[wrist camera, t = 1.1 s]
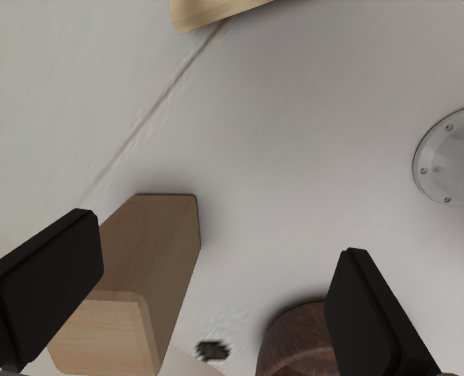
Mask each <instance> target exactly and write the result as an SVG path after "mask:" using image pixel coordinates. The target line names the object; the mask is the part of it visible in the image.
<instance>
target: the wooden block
mask: <svg viewBox="0 0 464 376" xmlns="http://www.w3.org/2000/svg"><path fill="white" fill-rule="evenodd" d="M99 233H100V240H101V248H102V256H103V263H104V274H103V276H102V278H101V280H100V281H99V282H98V283H97V284H96V286H95V287H94V288H93V289H92V291H91V292H90V293H89V294H88V295H87V297H86V298H85V299H84V300H83V302H82V303H81V304H80V305H79V307H78V308H77V309H76V310H75V311H74V313H73V314H72V315H71V316H70V318H69V319H68V320H67V321H66V322H65V324H64V325H63V326H62V327H61V329H60V330H59V331H58V332H57V333H56V335H55V336H54V337H53V338H52V340H51V341H50V342H49V343H48V344H47V346H46V347H47V349H48V351H49V353H50V355H51V358H52V360H53V362H54V364H55V366H56V368H57V369H58V370H59V371H61V372H62V373H65V374H75V375H89V376H157V375H158V373H159V372H160V369H161V366H162V363H163V360H164V357H165V354H166V351H167V348H168V345H169V342H170V339H171V336H172V333H173V330H174V327H175V324H176V321H177V318H178V315H179V312H180V309H181V306H182V303H183V300H184V297H185V294H186V291H187V288H188V285H189V282H190V279H191V276H192V273H193V270H194V267H195V264H196V261H197V258H198V255H199V252H200V249H201V246H200V236H199V225H198V215H197V205H196V200H195V198H194V197H193V196H188V195H135V196H132V197H130V198H129V199H128V200H127V201H126V202H125V203H124V204H123V205H122V206H121V207H120V208H118V209H117V210H116V211H115V212H114V213H113V214H112V215H111V216H110V217H109V218H108V219H107V220H106V221H104V222H103V223H102V224H101V225H100V226H99Z"/></svg>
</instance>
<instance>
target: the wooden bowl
mask: <svg viewBox="0 0 464 376" xmlns="http://www.w3.org/2000/svg"><path fill="white" fill-rule="evenodd" d="M324 303H325V301H323V302H312V303H307V304H303V305H300V306H297V307H295V308H293V309H291V310H289V311H287V312H285V313H284V314H282V315H281V316H280V317H279V318H278V319H277V320H276V321H275V322H274V323H273V324H272V326H271V327H270V328H269V330H268V332H267V333H266V335H265V337H264V340H263V342H262V345H261V348H260V351H259V356H258V360H257V367H256V374H255V376H340V373H339V370H338V366H337V362H336V358H335V354H334V350H333V347H332V343H331V339H330V335H329V331H328V327H327V324H326V320H325V316H324Z"/></svg>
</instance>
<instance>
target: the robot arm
mask: <svg viewBox="0 0 464 376" xmlns="http://www.w3.org/2000/svg"><path fill="white" fill-rule="evenodd" d="M413 174H414V179H415V182H416V184H417V186H418V188H419V189H420V190H421V191H422V192H423V193H424V194H425V195H426V196H428V197H429V198H430V199H432V200H434V201H436V202H437V203H440V204H443V205H448V206H464V109H463V110H461V111H458V112H456V113H454V114H452V115H450V116H449V117H447V118H445V119H444V120H442V121H441V122H440V123H439V124H437V125H436V126H435V127H434V128H433V129H432V130H431V131H430V132H429V133H428V134H427V135H426V136H425V138H424V139H423V141H422V142H421V144H420V145H419V148H418V150H417V152H416V154H415V158H414V163H413ZM103 274H104V263H103V256H102V248H101V240H100V233H99V225H98V218H97V216H96V215H94V213H93V211H91V210H86V209H79V208H75V209H73V210H71V211H70V212H69V213H67V214H66V215H64V216H63V217H61V218H60V219H58V220H57V221H55V222H54V223H52V224H51V225H49V226H48V227H46V228H45V229H44V230H42V231H41V232H39V233H38V234H36V235H35V236H33V237H32V238H30V239H29V240H27V241H26V242H24V243H23V244H21V245H20V246H18V247H17V248H16V249H14V250H13V251H11V252H10V253H8V254H7V255H5V256H4V257H2V258H1V259H0V367H1V369H2V371H1V370H0V376H28V375H23V374H19V373H20V372H21V371H22V370H23V369H24V367H25V366H26V365H27V364H28V363H30V362H32V361H34V360H35V359H36V358H37V357H38V356H39V354H40V353H41V352H42V350H43V349H44V348H45V347H46V346H47V344H48V343H49V342H50V341H51V340H52V338H53V337H54V336H55V335H56V333H57V332H58V331H59V330H60V329H61V327H62V326H63V325H64V324H65V322H66V321H67V320H68V319H69V318H70V316H71V315H72V314H73V313H74V311H75V310H76V309H77V308H78V307H79V305H80V304H81V303H82V302H83V300H84V299H85V298H86V297H87V295H88V294H89V293H90V292H91V291H92V289H93V288H94V287H95V286H96V284H97V283H98V282H99V281H100V280H101V278H102V276H103ZM324 316H325V320H326V324H327V327H328V331H329V335H330V339H331V343H332V347H333V350H334V354H335V358H336V362H337V366H338V370H339V373H340V376H458V375H456V374H453V373H442V372H441V370H440V369H439V367H438V365H437V364H436V362H435V361H434V359H433V357H432V356H431V354H430V352H429V351H428V349H427V347H426V346H425V344H424V343H423V341H422V339H421V338H420V336H419V334H418V333H417V331H416V329H415V328H414V326H413V325H412V323H411V321H410V320H409V318H408V316H407V315H406V313H405V311H404V310H403V308H402V307H401V305H400V303H399V302H398V300H397V298H396V297H395V296H394V294H393V292H392V291H391V289H390V288H389V286H388V284H387V283H386V281H385V279H384V278H383V276H382V274H381V273H380V271H379V270H378V268H377V266H376V265H375V263H374V261H373V260H372V258H371V256H370V255H369V253H368V252H367V250H364V249H357V248H351V247H349V248H348V249H347V250H346V251H342V252H341V254H340V257H339V260H338V263H337V267H336V270H335V273H334V276H333V279H332V282H331V285H330V288H329V291H328V294H327V297H326V300H325V303H324ZM6 371H7V372H6Z"/></svg>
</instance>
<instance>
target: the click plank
mask: <svg viewBox="0 0 464 376" xmlns="http://www.w3.org/2000/svg"><path fill="white" fill-rule="evenodd" d="M271 1H273V0H169V6H170V12H171V19H172V24H173V25H174V27H175V29H176V31H177V33H178V34H179V35H180V34H183V33H186V32H188V31H191V30H194V29H197V28H199V27H202V26H205V25H208V24H210V23H213V22H216V21H218V20H221V19H224V18H227V17H229V16H232V15H235V14H238V13H240V12H243V11H246V10H249V9H251V8H254V7H257V6H260V5H262V4H265V3H268V2H271Z"/></svg>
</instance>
